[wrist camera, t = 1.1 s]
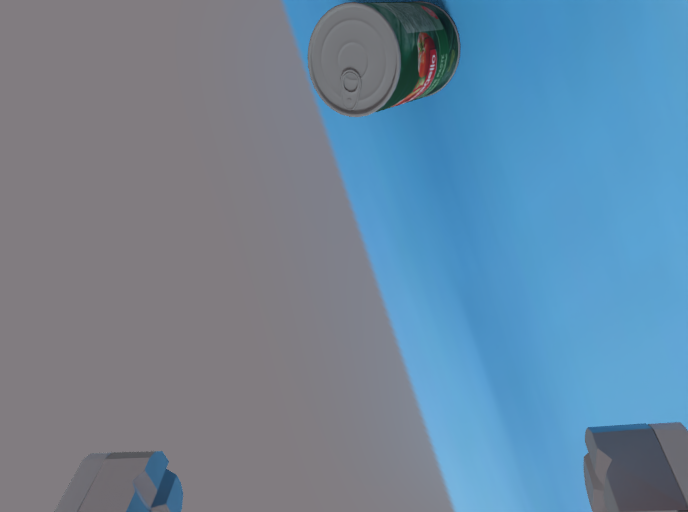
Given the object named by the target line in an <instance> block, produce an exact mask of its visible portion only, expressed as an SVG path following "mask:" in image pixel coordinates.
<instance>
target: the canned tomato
mask: <svg viewBox="0 0 688 512" xmlns="http://www.w3.org/2000/svg"><path fill="white" fill-rule="evenodd" d="M459 58H460V39H459V34H458V31H457V28H456V26H455V24H454V22H453V20H452V19H451V17H450V16H449V15H448V14H447V13H446V12H445V11H444V10H443V9H441V8H440V7H439V6H436V5H434V4H432V3H429V2H423V1H419V2H380V3H379V2H376V3H373V2H372V3H356V2H351V3H343V4H340V5H338V6H335V7H334V8H332V9H330V10H329V11H327V12H326V13H325V14H324V15H323V16H322V17H321V19H320V20H319V22H318V23H317V25H316V26H315V28H314V31H313V33H312V35H311V39H310V43H309V48H308V68H309V72H310V77H311V80H312V83H313V85H314V88H315V89H316V91H317V93H318V95H319V96H320V98H321V99H322V100H323V101H324V102H325V104H327V105H328V106H329V107H330V108H331V109H333V110H334V111H336V112H338V113H340V114H342V115H346V116H349V117H361V116H366V115H369V114H371V113H374V112H378V111H381V110H384V109H387V108H390V107H394V106H397V105H400V104H404V103H407V102H409V101H413V100H416V99H420V98H422V97H427V96H430V95H432V94H435V93H437V92H438V91H440V90H441V89H442V88H444V87H445V86H446V85H447V83H448V82H449V81H450V80H451V78H452V77H453V75H454V73H455V71H456V69H457V66H458V63H459Z"/></svg>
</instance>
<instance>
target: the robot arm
mask: <svg viewBox="0 0 688 512" xmlns="http://www.w3.org/2000/svg"><path fill="white" fill-rule="evenodd" d="M585 443H586V446H587V449H588V452H589V453H588V454H587V455H585V456H584V477H585V485H586V490H587V494H588V498H589V502H590V505H591V509H592V511H593V512H688V431H687V429H686V427H684V426H683V425H682V424H681V423H679V422H674V423H658V424H646V423H645V424H630V425H615V426H601V427H588V428H587V430H586V434H585ZM168 462H169V461H168V459H167V458H166V456H165V455H164V453H163V452H162V451H154V452H122V453H121V452H120V453H115V452H114V453H92V454H89V455H88V456H87V457H86V458H85V459H84V460H83V461H82V462H81V464H80V466H79V468H78V469H77V471H76V473H75V475H74V477H73V479H72V480H71V482H70V484H69V486H68V488H67V489H66V491H65V493H64V495H63V497H62V498H61V500H60V502H59V504H58V506H57V508H56V509H55V511H54V512H181V509H182V500H183V491H182V486H181V482H180V481H179V479H178V477H177V475H176V474H174V473H172V472H171V471H169V470H167V469H166V467H167V465H168Z"/></svg>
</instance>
